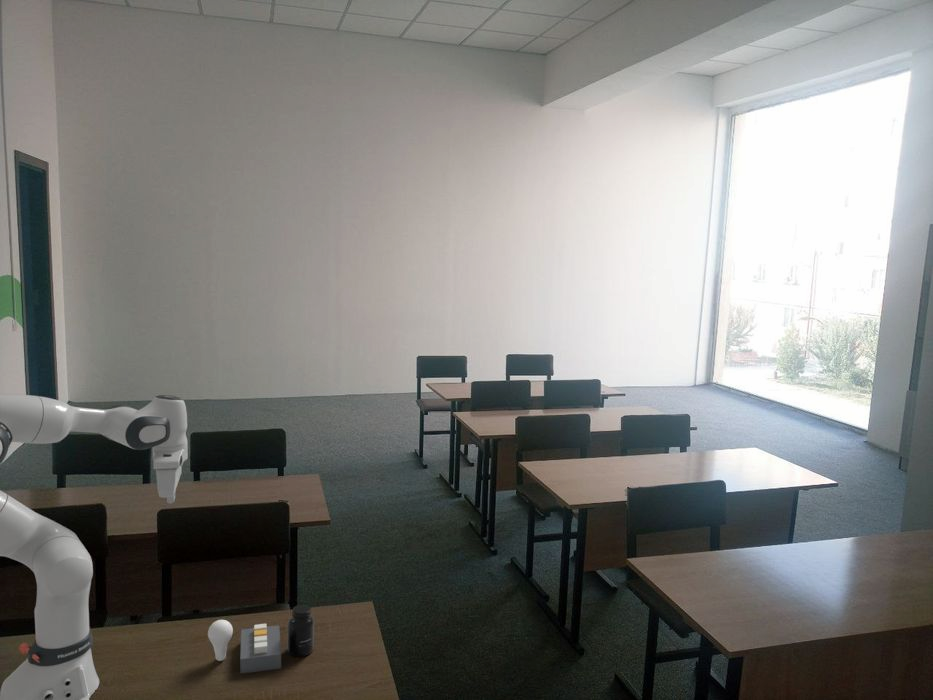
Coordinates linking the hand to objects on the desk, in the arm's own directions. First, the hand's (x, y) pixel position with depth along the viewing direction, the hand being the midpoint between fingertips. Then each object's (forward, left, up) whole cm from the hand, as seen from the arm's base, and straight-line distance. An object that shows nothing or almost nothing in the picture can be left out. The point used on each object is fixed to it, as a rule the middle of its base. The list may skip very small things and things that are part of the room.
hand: (171, 501), depth 193 cm
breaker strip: (+9, -28, -37) cm, 47 cm away
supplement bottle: (+15, -37, -37) cm, 54 cm away
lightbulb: (-1, -25, -37) cm, 44 cm away
